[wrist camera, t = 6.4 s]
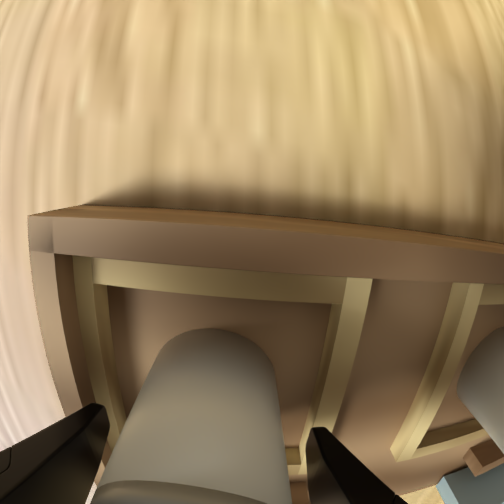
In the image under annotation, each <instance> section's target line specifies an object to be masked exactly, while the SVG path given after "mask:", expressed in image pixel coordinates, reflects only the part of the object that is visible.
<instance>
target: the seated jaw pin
mask: <svg viewBox="0 0 504 504" xmlns="http://www.w3.org/2000/svg"><path fill="white" fill-rule="evenodd" d="M457 395H458V398H459V399H460V400H461V401H462V403H463V404H464V405H465V406H466V407H467V409H468V410H469V411H470V412H471V413H472V415H473V416H474V417H475V418H476V420H477V421H478V422H479V423H480V424H481V426H482V427H483V428H484V429H485V431H486V432H487V433H488V434H489V436H490V437H491V438H492V439H493V441H494V442H495V443H496V445H497V446H498V447H499V448H500V450H501V451H502V452H503V454H504V326H503V327H500V328H498V329H496V330H494V331H493V332H491V333H490V334H489V335H488V336H486V337H485V338H484V339H483V340H482V341H481V342H480V343H479V345H478V346H477V347H476V348H475V349H474V351H473V352H472V354H471V355H470V356H469V358H468V360H467V361H466V363H465V365H464V367H463V369H462V371H461V373H460V376H459V379H458V383H457Z"/></svg>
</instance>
